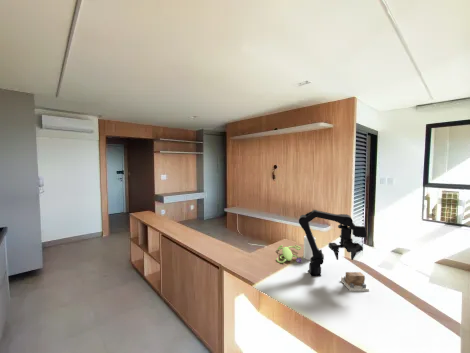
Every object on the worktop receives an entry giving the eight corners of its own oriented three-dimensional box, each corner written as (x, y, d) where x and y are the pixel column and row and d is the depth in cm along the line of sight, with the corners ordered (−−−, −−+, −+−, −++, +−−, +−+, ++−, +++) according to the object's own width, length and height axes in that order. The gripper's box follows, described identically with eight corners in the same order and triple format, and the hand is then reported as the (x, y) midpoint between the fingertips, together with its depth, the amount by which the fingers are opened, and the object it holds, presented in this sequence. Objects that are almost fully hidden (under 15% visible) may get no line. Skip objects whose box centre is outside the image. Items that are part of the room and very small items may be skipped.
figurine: (300, 250, 176) (300, 244, 176) (302, 266, 150) (303, 259, 150) (277, 248, 181) (277, 241, 180) (275, 263, 155) (276, 255, 154)
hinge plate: (349, 290, 123) (349, 285, 123) (341, 280, 133) (341, 275, 133) (368, 290, 123) (369, 285, 123) (358, 280, 133) (359, 275, 133)
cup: (313, 261, 157) (314, 240, 156) (302, 258, 162) (302, 237, 160) (315, 256, 164) (316, 236, 163) (304, 254, 169) (305, 234, 167)
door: (348, 285, 126) (349, 275, 126) (345, 281, 130) (345, 272, 130) (365, 285, 126) (365, 275, 126) (361, 281, 130) (361, 272, 130)
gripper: (337, 240, 124) (335, 266, 126) (369, 240, 124) (367, 266, 126) (328, 233, 135) (327, 257, 137) (358, 233, 135) (356, 257, 137)
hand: (344, 259), depth 134 cm, fingers open, 9 cm apart
